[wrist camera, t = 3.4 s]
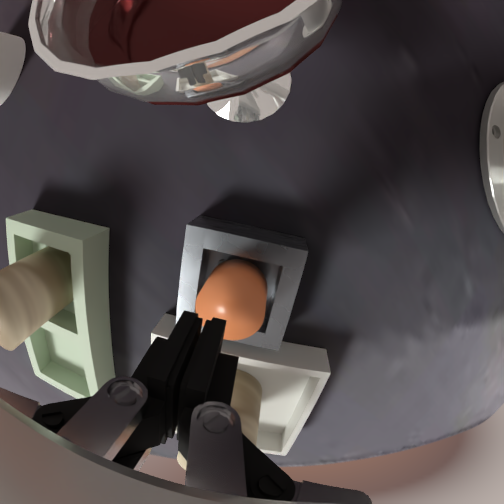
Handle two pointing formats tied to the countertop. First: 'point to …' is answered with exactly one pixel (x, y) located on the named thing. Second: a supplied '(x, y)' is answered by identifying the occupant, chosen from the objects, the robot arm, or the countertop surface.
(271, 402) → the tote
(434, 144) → the countertop surface
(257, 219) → the countertop surface
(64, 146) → the countertop surface
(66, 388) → the pale green flat tray
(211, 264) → the button housing
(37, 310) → the cylinder
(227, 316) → the button
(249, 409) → the cylinder
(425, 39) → the countertop surface
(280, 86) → the wineglass
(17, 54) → the cylindrical container
